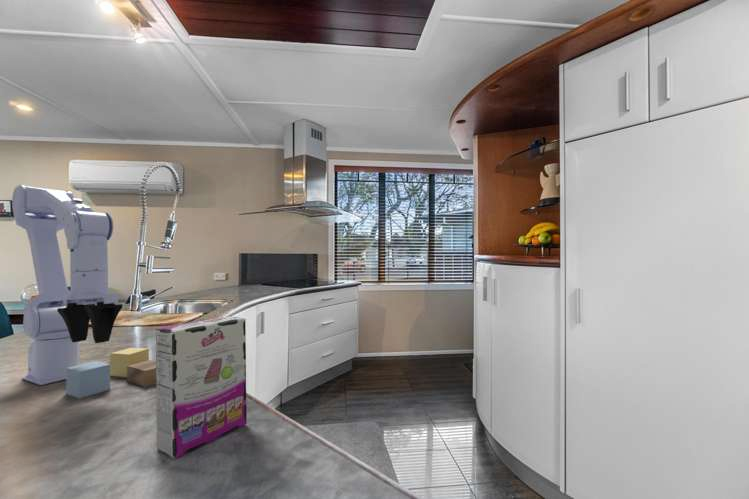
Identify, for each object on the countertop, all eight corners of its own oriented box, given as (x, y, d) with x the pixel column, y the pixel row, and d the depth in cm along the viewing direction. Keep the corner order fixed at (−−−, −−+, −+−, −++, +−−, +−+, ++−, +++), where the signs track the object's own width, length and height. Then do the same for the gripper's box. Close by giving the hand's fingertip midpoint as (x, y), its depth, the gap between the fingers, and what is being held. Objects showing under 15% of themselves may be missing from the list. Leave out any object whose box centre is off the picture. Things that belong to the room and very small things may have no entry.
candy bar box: (227, 417, 56) (228, 315, 56) (247, 425, 53) (248, 317, 53) (152, 450, 46) (154, 326, 47) (172, 461, 44) (174, 330, 44)
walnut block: (126, 382, 73) (126, 365, 73) (160, 373, 79) (160, 357, 79) (145, 388, 69) (145, 370, 70) (179, 377, 76) (179, 361, 76)
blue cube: (66, 394, 66) (66, 367, 66) (96, 385, 70) (97, 361, 71) (79, 398, 64) (79, 371, 64) (110, 389, 68) (110, 364, 68)
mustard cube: (110, 376, 76) (110, 353, 77) (130, 369, 81) (131, 347, 81) (128, 377, 75) (129, 354, 75) (148, 370, 80) (148, 348, 80)
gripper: (44, 274, 67) (44, 345, 66) (87, 270, 62) (88, 347, 61) (86, 273, 74) (87, 338, 73) (129, 269, 68) (130, 339, 67)
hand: (90, 341), depth 67 cm, fingers open, 7 cm apart
